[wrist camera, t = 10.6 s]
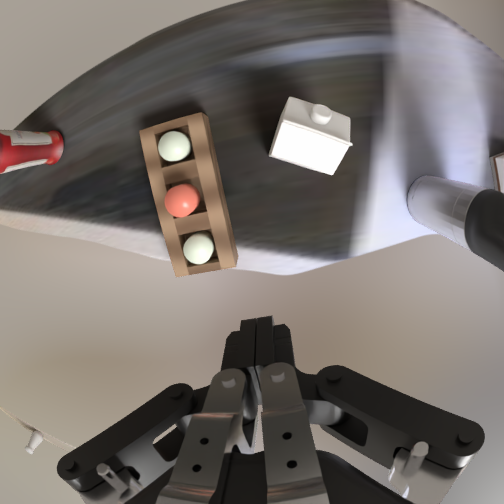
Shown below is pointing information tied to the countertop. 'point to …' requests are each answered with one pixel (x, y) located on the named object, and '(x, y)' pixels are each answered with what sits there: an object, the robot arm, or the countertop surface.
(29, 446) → the salt shaker
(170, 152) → the pale green sphere
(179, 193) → the red ball
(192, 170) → the wooden ball rack
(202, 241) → the cream white sphere
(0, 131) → the liquor
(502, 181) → the white notched tower
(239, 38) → the countertop surface
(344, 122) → the milk carton
